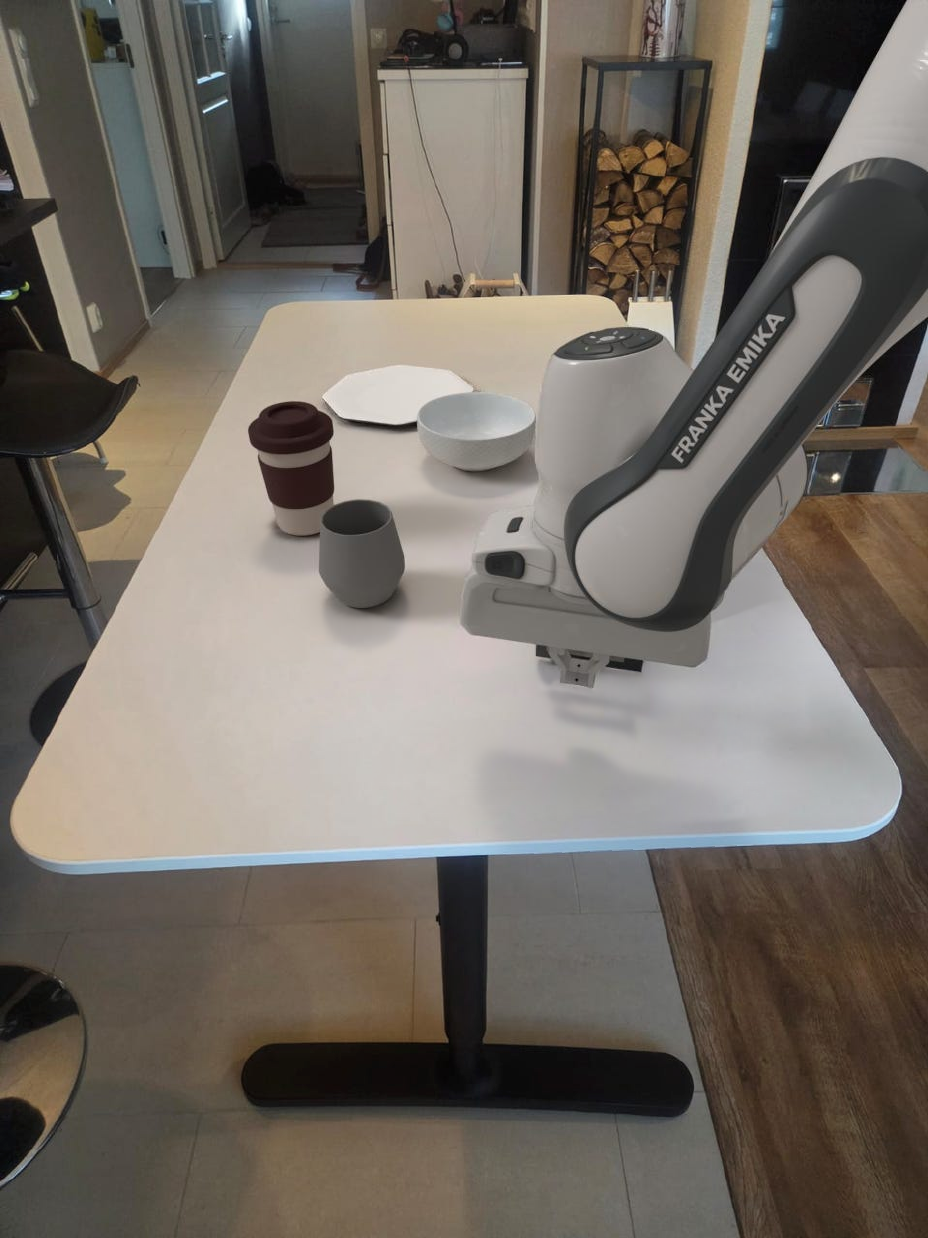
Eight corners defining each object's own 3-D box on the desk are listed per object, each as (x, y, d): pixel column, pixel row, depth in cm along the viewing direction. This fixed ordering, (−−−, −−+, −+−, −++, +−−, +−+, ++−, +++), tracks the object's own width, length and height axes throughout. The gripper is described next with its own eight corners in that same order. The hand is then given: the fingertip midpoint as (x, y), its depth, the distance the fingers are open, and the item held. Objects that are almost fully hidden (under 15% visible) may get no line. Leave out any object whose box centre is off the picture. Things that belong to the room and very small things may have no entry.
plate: (494, 411, 129) (494, 402, 128) (356, 442, 121) (355, 433, 120) (434, 365, 146) (433, 357, 145) (309, 390, 138) (308, 381, 137)
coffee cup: (270, 506, 106) (249, 398, 97) (345, 500, 107) (331, 392, 98) (264, 546, 98) (241, 432, 89) (345, 539, 99) (330, 426, 90)
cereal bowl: (547, 480, 110) (549, 432, 106) (428, 493, 108) (425, 444, 104) (519, 429, 123) (520, 384, 119) (412, 439, 121) (409, 395, 117)
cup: (408, 616, 87) (402, 537, 80) (321, 622, 86) (308, 543, 80) (405, 567, 94) (399, 492, 88) (326, 572, 94) (314, 497, 87)
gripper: (731, 540, 61) (701, 675, 70) (471, 511, 66) (474, 641, 74) (730, 587, 56) (699, 726, 65) (451, 552, 61) (456, 686, 69)
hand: (577, 681), depth 69 cm, fingers closed
